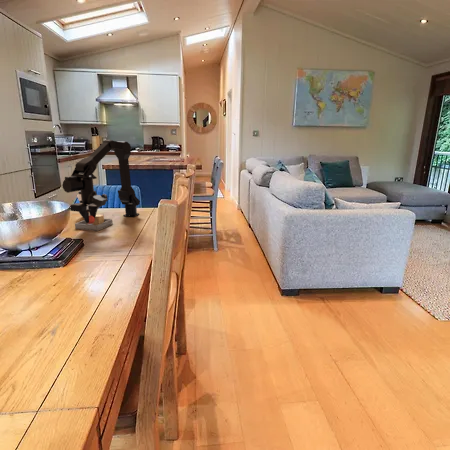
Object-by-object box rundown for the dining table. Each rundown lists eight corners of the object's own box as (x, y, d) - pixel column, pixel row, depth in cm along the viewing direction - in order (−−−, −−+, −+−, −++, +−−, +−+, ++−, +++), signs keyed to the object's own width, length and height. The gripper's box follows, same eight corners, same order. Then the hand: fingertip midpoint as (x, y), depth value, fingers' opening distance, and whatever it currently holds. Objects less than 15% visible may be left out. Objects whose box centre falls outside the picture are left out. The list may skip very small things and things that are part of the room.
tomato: (89, 222, 151) (89, 214, 150) (97, 223, 150) (96, 215, 149) (84, 224, 147) (83, 216, 146) (91, 225, 146) (90, 217, 145)
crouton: (97, 222, 156) (96, 214, 155) (104, 222, 155) (103, 215, 154) (92, 224, 153) (91, 216, 151) (99, 224, 152) (98, 217, 150)
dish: (91, 222, 158) (91, 217, 158) (112, 224, 156) (112, 219, 155) (75, 228, 147) (74, 223, 146) (97, 231, 144) (96, 225, 144)
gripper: (88, 194, 133) (92, 228, 138) (114, 187, 151) (116, 218, 155) (66, 192, 136) (71, 226, 140) (94, 185, 153) (97, 216, 158)
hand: (90, 221), depth 148 cm, fingers closed on tomato, 4 cm apart
